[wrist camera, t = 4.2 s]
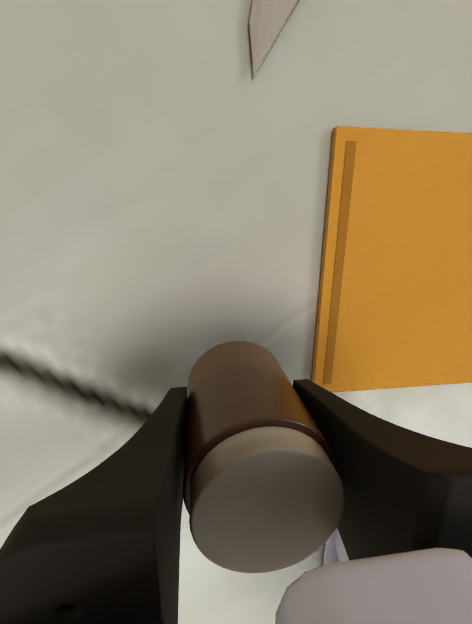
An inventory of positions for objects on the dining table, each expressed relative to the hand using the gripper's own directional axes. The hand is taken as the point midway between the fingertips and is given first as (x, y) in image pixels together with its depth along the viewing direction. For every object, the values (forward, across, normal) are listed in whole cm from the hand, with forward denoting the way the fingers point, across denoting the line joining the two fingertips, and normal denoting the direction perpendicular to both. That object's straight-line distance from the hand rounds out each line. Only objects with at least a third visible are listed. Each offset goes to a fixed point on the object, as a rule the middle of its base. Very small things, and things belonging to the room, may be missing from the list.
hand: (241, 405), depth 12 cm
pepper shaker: (+2, 0, 0) cm, 2 cm away
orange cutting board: (+5, -15, -5) cm, 16 cm away
